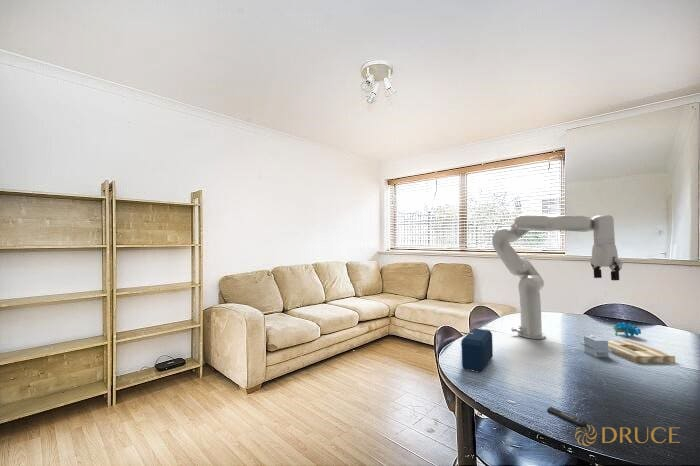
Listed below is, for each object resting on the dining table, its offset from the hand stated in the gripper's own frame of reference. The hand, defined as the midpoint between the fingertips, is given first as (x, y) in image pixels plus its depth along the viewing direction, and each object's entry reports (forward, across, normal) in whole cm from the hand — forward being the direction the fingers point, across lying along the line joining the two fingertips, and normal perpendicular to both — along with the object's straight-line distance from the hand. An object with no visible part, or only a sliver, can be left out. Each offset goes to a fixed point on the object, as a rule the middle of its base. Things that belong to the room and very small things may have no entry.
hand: (606, 279), depth 142 cm
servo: (+32, +5, -11) cm, 34 cm away
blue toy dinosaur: (+32, -19, +25) cm, 45 cm away
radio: (+32, +14, -66) cm, 75 cm away
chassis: (+32, +6, +5) cm, 33 cm away
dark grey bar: (+33, +54, -57) cm, 85 cm away
